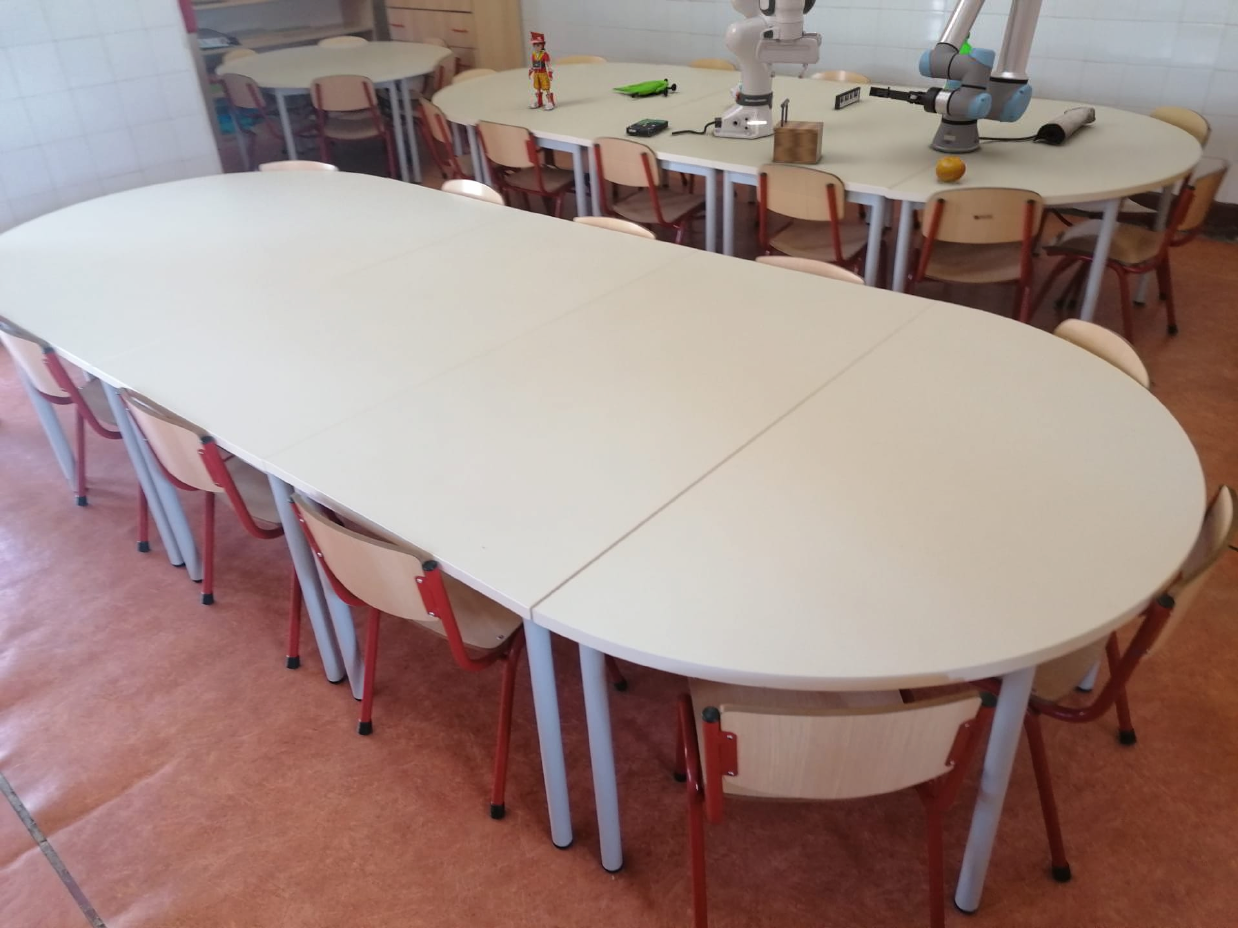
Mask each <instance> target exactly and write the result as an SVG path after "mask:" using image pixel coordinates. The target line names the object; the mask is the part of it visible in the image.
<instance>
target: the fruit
mask: <svg viewBox="0 0 1238 928" xmlns="http://www.w3.org/2000/svg"><path fill="white" fill-rule="evenodd" d="M966 171H967V165H966V163H965V161H964V160H963V159H962V158H960V157H958V156H953V155H952V156H951V155H949V156H945V157H943V158H941V159H940V160H939V161H938V162H937V164H936V167H935V175H936V177H937V178H938V179H939V180H940V181H942V182H946V183H954V182H958V181H959V180H960V179H962V178H963V177H964V176H965V173H966Z"/></svg>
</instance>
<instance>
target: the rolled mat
mask: <svg viewBox="0 0 1238 928" xmlns="http://www.w3.org/2000/svg"><path fill="white" fill-rule="evenodd" d="M1096 119H1097V118H1096V109H1095V108H1094V107H1087V106H1083V107H1074V108H1069V109H1066V110H1064V112H1063V114H1061V115H1059V116H1057V117H1055V118H1054V119H1052V120H1050V121H1048V122H1046V123H1045V124H1043V125H1042V126H1040V128H1039V129H1038V131H1037V132H1036V134H1035V135H1036V136H1035V138H1033V139H1032V142H1033V143H1035V142H1037V141H1042V140H1043V141H1044V142H1046V143H1047V144H1051V145H1057V146H1059V145H1061V144H1063V143H1064V142H1065V141H1066V140H1067V139H1068V138H1069V137H1070V136H1071V135H1072V134H1073V133H1074V132H1076V131H1077V130H1078V129H1079V128H1081V126H1083V125H1088V124H1093V123H1095V121H1096Z"/></svg>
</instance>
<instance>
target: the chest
mask: <svg viewBox="0 0 1238 928" xmlns="http://www.w3.org/2000/svg"><path fill="white" fill-rule="evenodd" d="M823 134H824V126H823V127H822V128H821V130H820V131H819V133H794V132H774V133H773V154H772V155H773V156H772V162H773V163H782V164H784V163H785V164H800V165H801V164H802V165H817V163H818V161H819V160H820V158H821V157H822V151H823V150H822V147H823Z"/></svg>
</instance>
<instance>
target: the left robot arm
mask: <svg viewBox="0 0 1238 928" xmlns="http://www.w3.org/2000/svg"><path fill="white" fill-rule="evenodd" d="M730 2H731V5H732V7H733V9H734V10H735V11H736V12H737V13H740V14H741V15H743V16H744V17H745V18H742V19H739V20H737V21H735V22H733V23H731V24H729V26H728V27H727V28H726V30H725V35H724V37H725V38H724V39H725V40H724V41H725V43H726V45H725V46H726V47H727V49H728V50H729V51H730V52H731V53H732V54H733V55H734V56H735V57H736V59H737V61H738V64H739V67H740V73H741V74H740V75H741V85H742V91H737V93H736V101H735V103H734V104H733V105H732V106H730V107H729V108H727V110H726V111H724V113H722V114H721V117H720V116H719V117H714V120H713V121H710V122H708V123H706V124H705V125H704V128H703V131H695V130H692V129H684V130H677V131H671V135H672V136H675V135H681V134H694V135H704V134H706V133H707V129H708V128H709V127H710V126H712V125H714V130H713V135H714V136H715V137H721V138H722V137H723V138H736V139H737V138H738V139H750V140H753V139H754V140H755V139H758V138H761V137H766V136H770V135H774V132H773V128H774V126H775V125H774V120H773V107H774V91H773V79H774V78H775V77H776V71H775V70H773V68H772V66H773V64H789V65H790V64H791V65H792V64H793V65H795V64H796V65H801V64H802V68H803V69H802V70H801V71H799V72H798V80H799V79H804V78H805V72H806V71H807V69H808V67H809V65H816V64H817V63H819V61H820V59H821V57H820V56H821V49H820V48H821V46H822V35H821V34H820V33H819V32H818V31H805V30H804V25H805V18H804V17H805V16H804V15H807V14H808V13H809V12H810V11H811V10H812V9H813V8H814V6H815V4H816V2H817V0H730Z"/></svg>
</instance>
